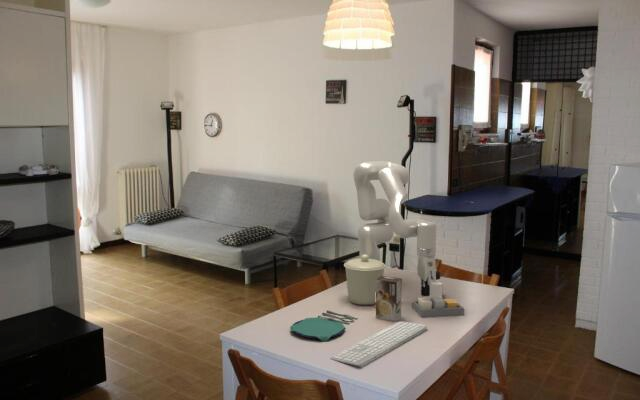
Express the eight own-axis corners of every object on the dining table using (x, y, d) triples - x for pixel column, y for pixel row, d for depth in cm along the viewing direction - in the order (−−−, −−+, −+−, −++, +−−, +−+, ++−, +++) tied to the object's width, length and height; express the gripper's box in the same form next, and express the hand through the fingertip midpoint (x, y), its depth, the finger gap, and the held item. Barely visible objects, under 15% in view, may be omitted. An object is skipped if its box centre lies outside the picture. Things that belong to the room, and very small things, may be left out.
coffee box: (402, 316, 224) (402, 278, 222) (396, 321, 219) (397, 282, 216) (380, 313, 229) (381, 275, 226) (374, 318, 223) (375, 279, 221)
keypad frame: (421, 317, 224) (421, 310, 223) (411, 307, 235) (412, 300, 235) (463, 315, 226) (464, 308, 226) (452, 305, 238) (452, 298, 238)
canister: (373, 293, 255) (374, 248, 252) (392, 305, 238) (393, 257, 235) (337, 297, 248) (337, 251, 246) (354, 310, 232) (354, 261, 229)
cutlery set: (280, 334, 206) (280, 328, 206) (324, 312, 231) (324, 307, 231) (326, 346, 196) (326, 340, 195) (366, 322, 221) (366, 316, 220)
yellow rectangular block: (448, 310, 228) (448, 303, 228) (443, 306, 234) (443, 299, 234) (457, 309, 229) (457, 302, 229) (452, 305, 235) (452, 298, 234)
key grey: (435, 308, 227) (435, 301, 227) (430, 304, 233) (430, 297, 233) (444, 308, 228) (444, 301, 228) (439, 303, 234) (439, 296, 233)
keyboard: (399, 323, 219) (399, 317, 218) (427, 331, 211) (428, 325, 210) (328, 359, 185) (328, 353, 185) (359, 370, 177) (359, 363, 177)
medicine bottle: (442, 299, 247) (443, 273, 245) (426, 299, 247) (426, 272, 245) (439, 294, 254) (440, 268, 252) (423, 294, 254) (424, 268, 252)
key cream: (422, 309, 227) (422, 302, 226) (417, 304, 232) (417, 298, 232) (431, 308, 227) (431, 301, 227) (426, 304, 233) (427, 297, 232)
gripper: (441, 255, 220) (440, 300, 222) (428, 247, 234) (427, 289, 237) (423, 256, 219) (422, 301, 221) (411, 248, 233) (410, 290, 236)
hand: (425, 295), depth 229 cm, fingers closed
